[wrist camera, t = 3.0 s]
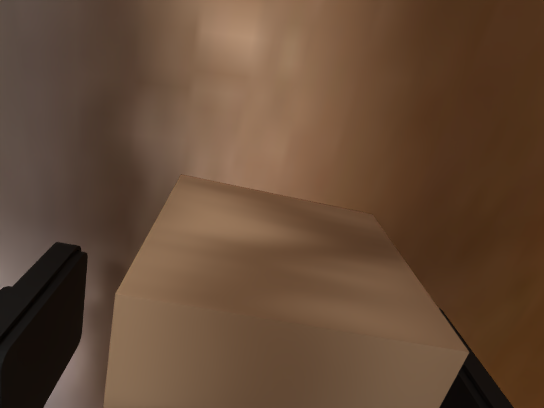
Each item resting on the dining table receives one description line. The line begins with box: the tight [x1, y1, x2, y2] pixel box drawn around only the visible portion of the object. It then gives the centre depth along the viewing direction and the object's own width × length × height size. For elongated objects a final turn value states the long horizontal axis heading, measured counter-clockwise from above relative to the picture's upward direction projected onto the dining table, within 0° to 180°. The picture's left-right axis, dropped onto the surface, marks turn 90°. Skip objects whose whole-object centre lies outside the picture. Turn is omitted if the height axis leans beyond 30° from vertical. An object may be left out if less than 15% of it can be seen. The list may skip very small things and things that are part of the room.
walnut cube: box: [103, 174, 469, 408], centre depth 10 cm, size 6×6×6 cm
